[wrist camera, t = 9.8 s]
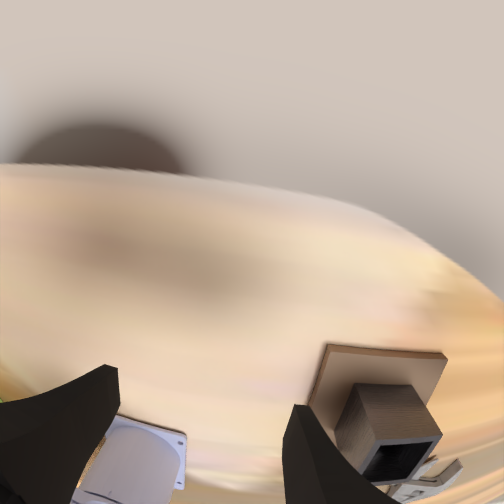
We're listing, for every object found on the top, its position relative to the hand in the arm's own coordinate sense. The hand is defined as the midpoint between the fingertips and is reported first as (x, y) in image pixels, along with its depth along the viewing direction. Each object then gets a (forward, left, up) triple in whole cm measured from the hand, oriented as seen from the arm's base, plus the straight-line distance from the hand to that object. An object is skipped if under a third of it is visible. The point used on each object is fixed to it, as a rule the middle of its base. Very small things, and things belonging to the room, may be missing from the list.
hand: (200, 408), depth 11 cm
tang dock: (-6, -12, -9) cm, 16 cm away
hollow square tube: (-6, -12, -8) cm, 16 cm away
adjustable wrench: (-24, -19, -10) cm, 32 cm away
